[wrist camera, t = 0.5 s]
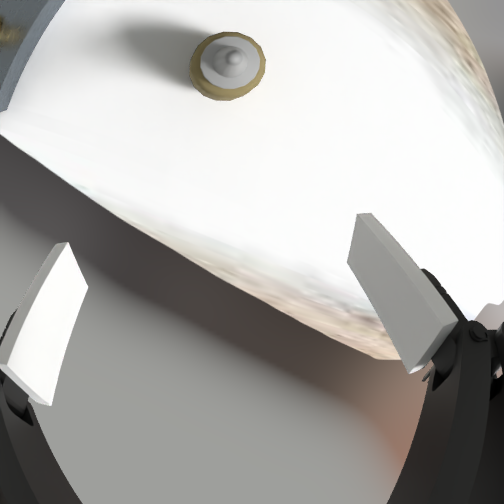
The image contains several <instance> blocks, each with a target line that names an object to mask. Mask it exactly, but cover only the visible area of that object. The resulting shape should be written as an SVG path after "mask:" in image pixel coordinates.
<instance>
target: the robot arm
mask: <svg viewBox="0 0 504 504" xmlns="http://www.w3.org/2000/svg"><path fill="white" fill-rule="evenodd" d="M347 263H348V265H349V266H350V268H351V270H352V271H353V273H354V275H355V276H356V278H357V280H358V281H359V283H360V285H361V286H362V288H363V290H364V292H365V293H366V295H367V297H368V298H369V300H370V302H371V304H372V305H373V307H374V309H375V311H376V313H377V314H378V316H379V318H380V320H381V322H382V323H383V325H384V327H385V329H386V331H387V333H388V335H389V336H390V338H391V340H392V342H393V344H394V346H395V348H396V350H397V352H398V354H399V356H400V358H401V360H402V362H403V364H404V366H405V368H406V370H407V372H408V374H410V373H413V372H415V371H418V370H420V369H423V368H424V367H425V366H426V365H427V364H428V362H429V361H430V360H432V362H433V363H434V365H433V367H432V368H431V369H430V370H429V371H428V373H427V374H426V375H425V376H424V378H423V380H422V381H425V380H426V379H427V378H428V377H429V376H430V377H429V381H428V387H427V391H426V395H425V400H424V404H423V408H422V412H421V415H420V419H419V422H418V426H417V429H416V432H415V435H414V438H413V441H412V444H411V448H410V450H409V453H408V456H407V458H406V461H405V464H404V467H403V469H402V471H401V474H400V476H399V478H398V481H397V483H396V485H395V487H394V490H393V492H392V494H391V496H390V499H389V500H388V502H387V504H504V322H503V323H502V324H501V326H500V327H499V329H498V330H487V329H486V328H485V327H484V326H483V325H482V324H481V323H479V322H477V321H473V320H471V321H468V320H467V319H466V318H465V316H464V315H463V313H462V312H461V311H460V309H459V308H458V306H457V305H456V304H455V302H454V301H453V300H452V298H451V297H450V296H449V294H447V292H446V290H445V289H444V288H443V287H441V284H440V283H439V281H438V280H437V279H436V278H435V276H434V275H432V274H431V273H430V272H428V271H427V270H426V269H420V268H419V267H418V266H417V264H416V263H415V262H414V261H413V259H412V258H411V257H410V256H409V255H408V254H407V252H406V251H405V250H404V249H403V248H402V247H401V245H400V244H399V243H398V242H397V241H396V240H395V239H394V237H393V236H392V235H391V234H390V233H389V232H388V231H387V230H386V229H385V227H384V226H383V225H382V224H381V223H380V222H379V221H378V220H377V219H376V218H375V217H374V216H373V215H372V214H371V213H364V214H357V217H356V222H355V227H354V232H353V237H352V242H351V246H350V251H349V255H348V260H347ZM87 289H88V286H87V284H86V282H85V280H84V277H83V275H82V273H81V271H80V269H79V266H78V264H77V262H76V260H75V258H74V255H73V253H72V250H71V248H70V245H69V243H68V242H66V243H59V244H56V245H55V246H54V248H53V249H52V251H51V252H50V254H49V255H48V257H47V258H46V260H45V262H44V263H43V265H42V266H41V268H40V269H39V271H38V273H37V274H36V276H35V278H34V280H33V281H32V283H31V285H30V287H29V288H28V290H27V292H26V294H25V296H24V297H23V300H22V301H21V303H20V305H19V307H18V308H17V310H16V311H15V312H14V313H13V314H12V316H11V317H10V319H9V321H8V323H7V325H6V329H5V330H4V332H3V336H2V337H1V339H0V504H82V502H81V501H80V499H79V498H78V496H77V495H76V493H75V492H74V490H73V489H72V487H71V485H70V484H69V482H68V481H67V479H66V477H65V475H64V474H63V472H62V470H61V468H60V466H59V465H58V463H57V461H56V459H55V457H54V455H53V453H52V451H51V449H50V447H49V445H48V443H47V441H46V439H45V436H44V434H43V432H42V430H41V427H40V425H39V423H38V420H37V418H36V415H35V413H34V410H33V407H32V405H31V404H30V403H29V402H28V397H29V396H30V397H31V398H33V399H34V400H35V401H36V402H37V403H41V404H45V405H50V406H51V405H52V400H53V395H54V391H55V387H56V383H57V379H58V375H59V371H60V367H61V364H62V361H63V357H64V354H65V351H66V347H67V344H68V341H69V338H70V335H71V332H72V329H73V326H74V323H75V320H76V318H77V314H78V312H79V309H80V307H81V304H82V301H83V299H84V296H85V294H86V291H87ZM501 367H502V372H503V374H502V375H501V376H500V377H499V378H497V376H496V372H497V371H498V370H499V369H500V368H501Z"/></svg>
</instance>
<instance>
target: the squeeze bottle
mask: <svg viewBox="0 0 504 504" xmlns="http://www.w3.org/2000/svg"><path fill="white" fill-rule="evenodd" d="M265 62H266V59H265V57H264V54H263V51H262V49H261V47H260V46H259V45H258V44H257V43H256V42H255V41H254V40H253V39H252V38H250V37H248V36H246V35H243V34H241V33H238V32H221V33H218V34H215V35H212V36H209V37H208V38H207V39H205V40H204V41H203V42H202V43H201V44H199V45H198V47H197V48H196V50H195V52H194V54H193V56H192V58H191V61H190V72H189V76H190V78H191V81H192V83H193V85H194V87H195V88H196V89H197V90H198V91H199V92H200V93H201V94H202V95H203V96H206V97H208V98H211V99H214V100H219V101H230V100H233V99H236V98H239V97H242V96H244V95H245V94H247V93H248V92H250V91H251V90H252V89H253V88H255V87H256V86H257V85H258V84H259V82H260V80H261V79H262V77H263V75H264V73H265Z"/></svg>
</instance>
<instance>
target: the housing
mask: <svg viewBox="0 0 504 504" xmlns="http://www.w3.org/2000/svg"><path fill="white" fill-rule="evenodd" d="M64 1H65V0H0V17H1V21H2V22H3V24H2V25H1V31H0V112H2V111H5V110H7V107H8V105H9V102H10V100H11V97H12V94H13V92H14V90H15V87H16V85H17V83H18V80H19V78H20V76H21V74H22V72H23V69H24V67H25V65H26V63H27V61H28V59H29V57H30V56H31V54H32V52H33V50H34V48H35V46H36V44H37V43H38V41H39V39H40V38H41V36H42V34H43V33H44V31H45V29H46V28H47V26H48V24H49V23H50V21H51V20H52V18H53V17H54V15H55V14H56V12H57V11H58V10H59V8H60V7H61V5H62V4H63V3H64Z"/></svg>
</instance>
